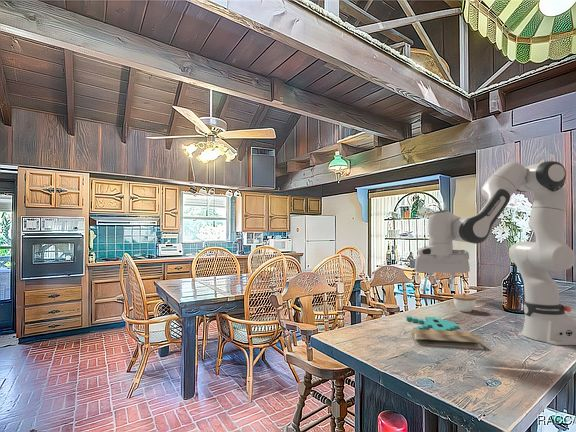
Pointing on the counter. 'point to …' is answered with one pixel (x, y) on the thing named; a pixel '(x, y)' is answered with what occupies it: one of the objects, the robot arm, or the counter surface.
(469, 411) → the counter surface
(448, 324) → the alien figure
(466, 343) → the underlay mat
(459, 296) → the lidded jar
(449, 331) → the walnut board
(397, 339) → the counter surface
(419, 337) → the birch plank
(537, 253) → the robot arm
